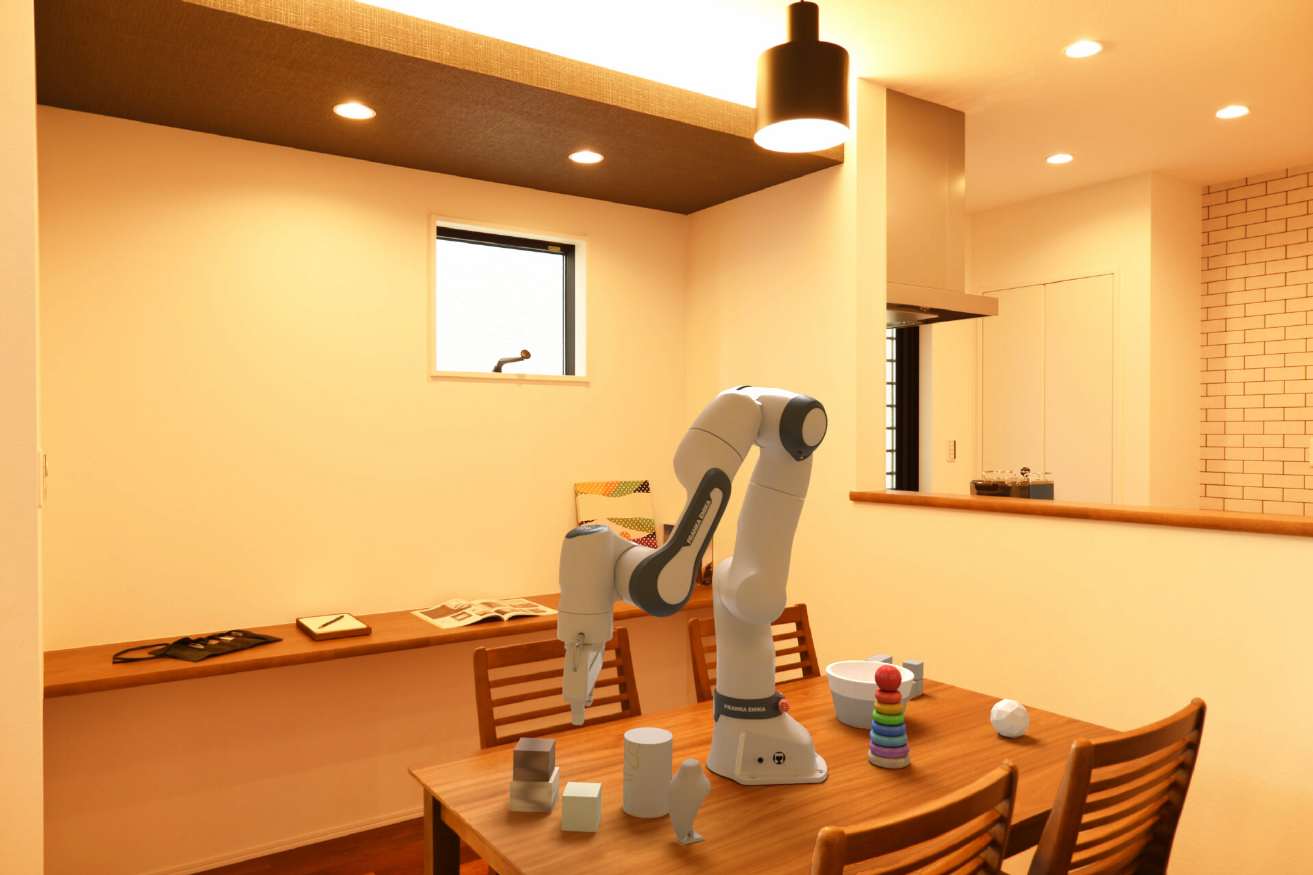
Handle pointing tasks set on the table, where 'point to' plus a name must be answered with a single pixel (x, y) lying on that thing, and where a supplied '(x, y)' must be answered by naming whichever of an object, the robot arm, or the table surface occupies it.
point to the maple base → (534, 794)
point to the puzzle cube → (911, 665)
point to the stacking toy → (888, 722)
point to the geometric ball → (1010, 718)
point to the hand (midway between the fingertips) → (582, 713)
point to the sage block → (581, 807)
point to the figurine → (687, 799)
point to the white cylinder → (647, 772)
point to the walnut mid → (534, 759)
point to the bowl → (860, 690)
